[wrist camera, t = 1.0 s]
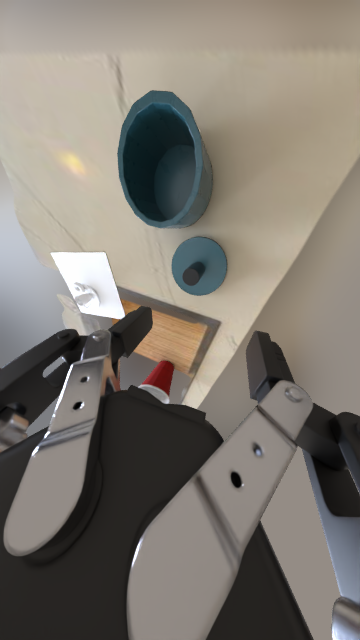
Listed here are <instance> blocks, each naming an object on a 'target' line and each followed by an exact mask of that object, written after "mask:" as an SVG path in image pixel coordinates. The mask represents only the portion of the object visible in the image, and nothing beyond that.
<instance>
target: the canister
mask: <svg viewBox="0 0 360 640" xmlns="http://www.w3.org/2000/svg"><path fill="white" fill-rule="evenodd" d="M117 154H118V168H119V179H120V182H121V185H122V188H123V192H124V195H125V198H126V200H127V202H128V203H129V205H130V207H131V208H132V210H133V211H134V213H135V215H136V216H137V217H139V218H140V219H141V220H142V221H144V222H145V223H146V224H147V225H150V226H154V227H158V228H183V227H187V226H190V225H192V224H193V223H195V222H196V221H197V220H198V219H199V218H200V217H201V216H202V214H203V213H204V211H205V209H206V207H207V205H208V203H209V200H210V197H211V192H212V185H213V177H212V166H211V163H210V160H209V157H208V155H207V152H206V149H205V146H204V143H203V141H202V138H201V135H200V133H199V130H198V127H197V125H196V122H195V120H194V117H193V115H192V112H191V110H190V109H189V107H188V106H187V105H186V104H184V103H183V102H182V101H181V100H180V99H179V98H178V97H177V96H176V95H175V94H174V93H173V92H168V91H154V90H152V91H150V92H148V93H147V94H146V95H144V96H143V97H141V98H140V99H139V100H137V101H136V102H135V103H134V104H133V105H132V107H131V109H130V111H129V113H128V115H127V117H126V119H125V121H124V123H123V125H122V129H121V135H120V141H119V147H118V153H117Z"/></svg>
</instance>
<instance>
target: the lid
mask: <svg viewBox="0 0 360 640" xmlns="http://www.w3.org/2000/svg"><path fill="white" fill-rule="evenodd" d="M226 271H227V260H226V256H225V254H224V252H223V250H222V248H221V247H220V246H219V245H218V244H217V243H216V242H215V241H213V240H211V239H209V238H205V237H194V238H191V239H188V240H186V241H185V242H183V243H182V244H181V245H180V246H179V247H178V248H177V250H176V252H175V254H174V256H173V259H172V274H173V277H174V279H175V281H176V283H177V284H178V286H179V287H180V288H181V289H182V290H184V291H185V292H187V293H189V294H192V295H197V296H201V295H206V294H209V293H211V292H213V291H215V290H216V289H217V288H218V287H219V286H220V285H221V283H222V282H223V280H224V278H225V275H226Z"/></svg>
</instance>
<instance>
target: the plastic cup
mask: <svg viewBox="0 0 360 640" xmlns="http://www.w3.org/2000/svg"><path fill="white" fill-rule="evenodd" d="M173 371H174V366H173V365H172V364H171V363H170V362H168V361H161V362H160V363H159V364H158V365H157V367H156V368H155V369H154V370H153V371H152V372H151V374H150V375H149V376H148V377H147V379H146V380H145V381H144V382H143V383H142V384H141V385H140V386H139V387H138V388H141V389H144V390H146V391H148V392H150V393H151V394H152V395H153V396H155V397H156V398H157V399H159V400H160V401H161V402H163V403H165V404H168V403H169V401H170V398H169V392H170V391H169V390H170V386H171V381H172V375H173Z"/></svg>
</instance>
